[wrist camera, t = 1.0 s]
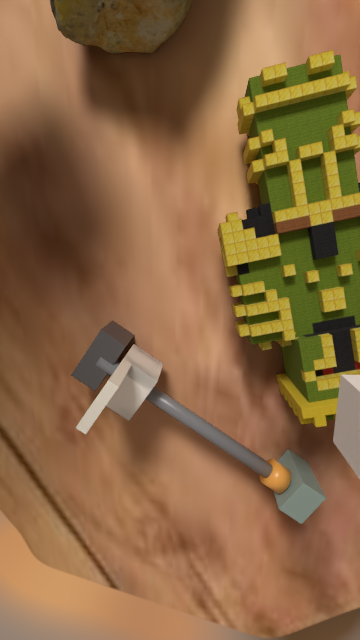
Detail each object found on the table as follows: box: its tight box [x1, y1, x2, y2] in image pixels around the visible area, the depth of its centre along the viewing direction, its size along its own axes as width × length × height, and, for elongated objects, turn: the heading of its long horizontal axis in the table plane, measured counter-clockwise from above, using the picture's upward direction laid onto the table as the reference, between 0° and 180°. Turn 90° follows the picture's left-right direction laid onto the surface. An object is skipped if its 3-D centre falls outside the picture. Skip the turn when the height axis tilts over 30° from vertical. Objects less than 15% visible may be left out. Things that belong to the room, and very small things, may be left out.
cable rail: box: [71, 321, 326, 524], centre depth 37 cm, size 29×6×6 cm, turn 55°
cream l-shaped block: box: [76, 344, 163, 434], centre depth 33 cm, size 4×5×11 cm
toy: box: [218, 50, 360, 427], centre depth 32 cm, size 17×10×30 cm
